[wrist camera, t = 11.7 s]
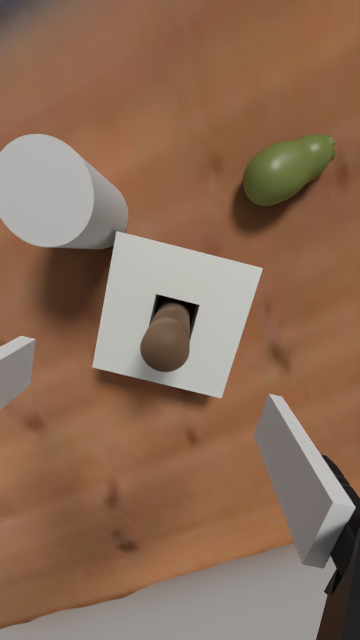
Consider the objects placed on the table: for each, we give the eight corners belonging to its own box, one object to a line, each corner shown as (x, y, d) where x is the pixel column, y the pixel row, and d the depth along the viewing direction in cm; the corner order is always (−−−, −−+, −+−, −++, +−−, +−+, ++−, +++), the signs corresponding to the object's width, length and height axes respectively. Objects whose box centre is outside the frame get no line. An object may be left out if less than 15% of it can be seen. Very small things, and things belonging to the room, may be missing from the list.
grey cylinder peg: (111, 167, 31) (65, 115, 19) (138, 235, 33) (110, 225, 21) (50, 194, 32) (-29, 160, 20) (79, 258, 34) (22, 261, 22)
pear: (245, 152, 25) (336, 106, 26) (229, 174, 31) (304, 135, 31) (268, 208, 26) (355, 163, 27) (248, 219, 32) (321, 181, 32)
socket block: (105, 352, 37) (92, 367, 32) (127, 234, 33) (116, 230, 28) (217, 379, 37) (221, 398, 32) (252, 266, 33) (262, 268, 28)
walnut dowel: (156, 322, 35) (135, 365, 22) (163, 293, 34) (145, 319, 21) (185, 329, 36) (182, 377, 22) (192, 301, 35) (195, 332, 21)
